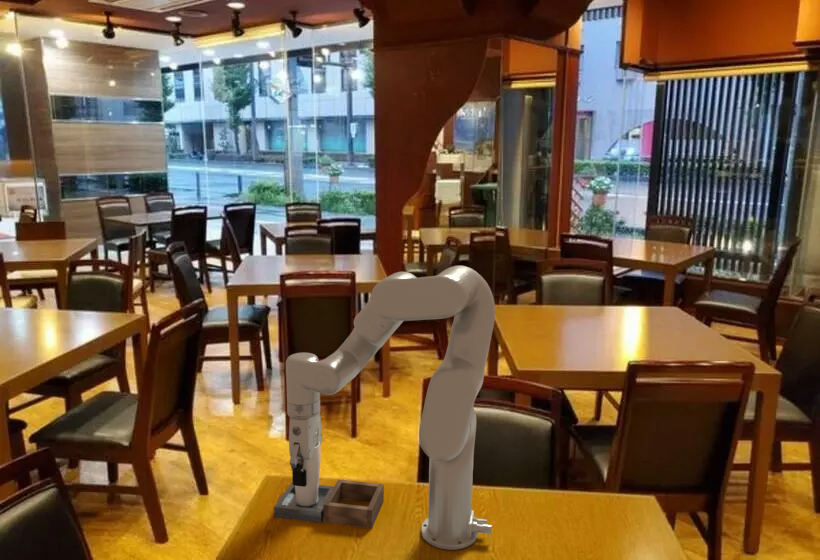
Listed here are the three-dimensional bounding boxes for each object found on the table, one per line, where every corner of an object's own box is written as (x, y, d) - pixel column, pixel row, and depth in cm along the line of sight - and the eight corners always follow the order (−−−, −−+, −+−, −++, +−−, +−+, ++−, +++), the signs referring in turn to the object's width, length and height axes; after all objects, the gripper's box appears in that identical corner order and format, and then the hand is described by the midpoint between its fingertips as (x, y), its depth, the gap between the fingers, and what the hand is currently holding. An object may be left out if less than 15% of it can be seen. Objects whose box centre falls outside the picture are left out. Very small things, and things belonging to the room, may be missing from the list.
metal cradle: (336, 495, 152) (336, 486, 151) (320, 523, 140) (320, 513, 140) (292, 490, 154) (292, 481, 154) (273, 517, 142) (273, 507, 142)
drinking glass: (286, 504, 146) (285, 446, 143) (304, 491, 152) (302, 434, 149) (310, 512, 143) (308, 452, 140) (327, 498, 149) (325, 440, 146)
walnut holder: (383, 501, 149) (383, 484, 149) (372, 528, 138) (372, 510, 138) (338, 496, 152) (338, 479, 151) (323, 522, 141) (323, 504, 140)
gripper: (306, 423, 133) (308, 498, 137) (330, 393, 150) (332, 461, 153) (273, 420, 135) (276, 494, 138) (301, 391, 151) (303, 458, 155)
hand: (305, 476), depth 146 cm, fingers open, 7 cm apart
